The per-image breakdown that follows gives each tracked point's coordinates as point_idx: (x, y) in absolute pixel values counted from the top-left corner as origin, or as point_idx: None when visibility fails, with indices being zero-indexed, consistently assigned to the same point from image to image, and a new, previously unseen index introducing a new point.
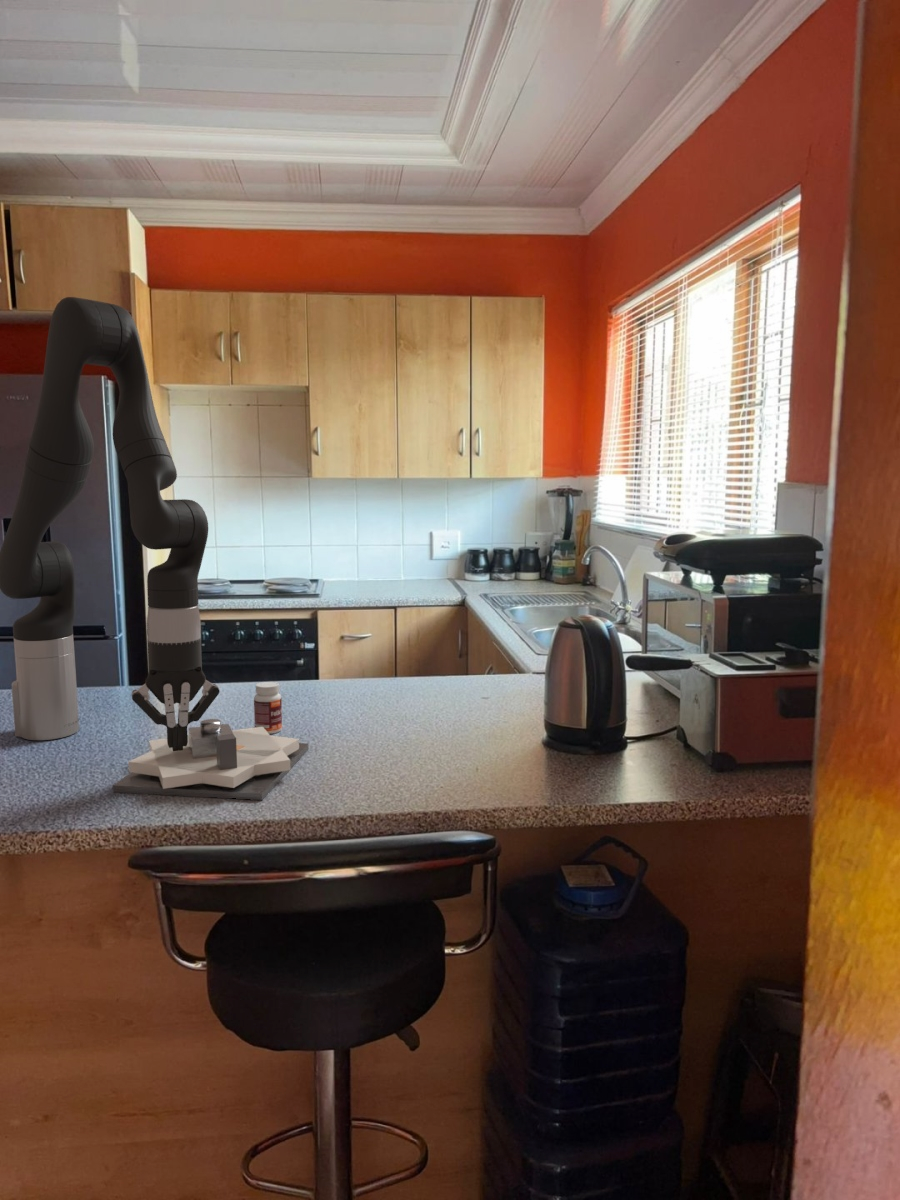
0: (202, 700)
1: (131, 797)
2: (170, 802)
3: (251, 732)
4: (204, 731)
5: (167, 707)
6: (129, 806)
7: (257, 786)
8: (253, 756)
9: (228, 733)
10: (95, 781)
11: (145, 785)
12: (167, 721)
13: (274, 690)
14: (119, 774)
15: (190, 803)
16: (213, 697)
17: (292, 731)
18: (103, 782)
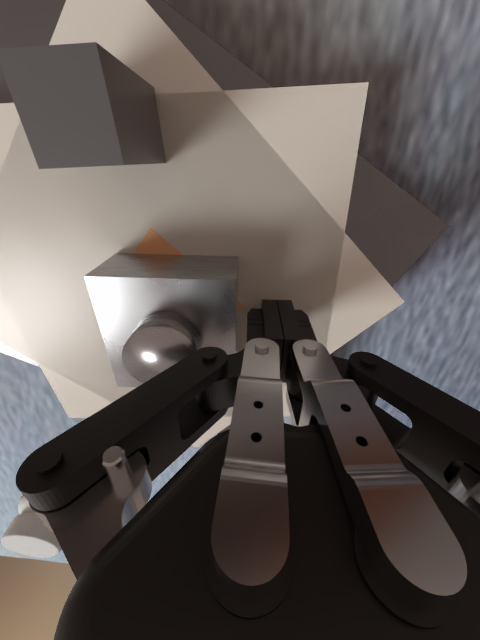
0: (159, 431)
1: (413, 160)
2: (330, 54)
3: (89, 393)
4: (188, 326)
5: (354, 397)
6: (448, 73)
7: (36, 4)
8: (50, 207)
9: (105, 298)
10: (440, 308)
11: (377, 188)
12: (329, 356)
13: (14, 523)
14: (382, 330)
15: (274, 7)
16: (86, 429)
17: (43, 426)
18: (429, 296)
